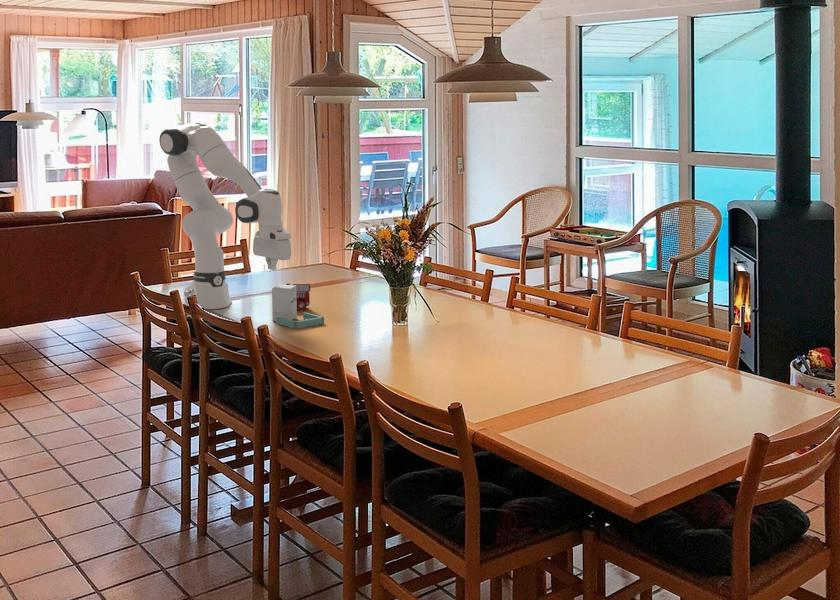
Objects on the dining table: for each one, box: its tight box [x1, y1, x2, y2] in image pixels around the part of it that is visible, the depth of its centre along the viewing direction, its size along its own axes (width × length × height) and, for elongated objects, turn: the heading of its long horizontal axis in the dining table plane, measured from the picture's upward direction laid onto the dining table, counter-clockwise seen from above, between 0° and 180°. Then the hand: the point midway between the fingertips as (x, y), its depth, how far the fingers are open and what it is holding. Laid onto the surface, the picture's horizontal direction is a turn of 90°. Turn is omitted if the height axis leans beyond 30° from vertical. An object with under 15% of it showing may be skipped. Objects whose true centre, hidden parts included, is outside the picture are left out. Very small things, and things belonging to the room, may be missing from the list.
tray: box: [276, 311, 325, 329], centre depth 343 cm, size 12×13×2 cm
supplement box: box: [271, 284, 298, 322], centre depth 349 cm, size 7×7×13 cm
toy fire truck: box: [285, 283, 311, 311], centre depth 368 cm, size 7×12×10 cm, turn 91°
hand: (272, 269), depth 353 cm, fingers closed
